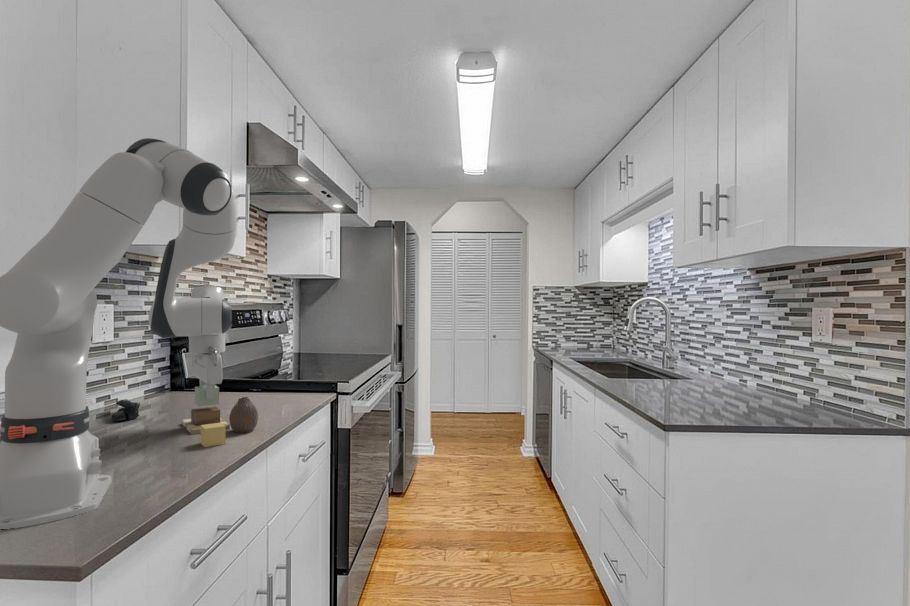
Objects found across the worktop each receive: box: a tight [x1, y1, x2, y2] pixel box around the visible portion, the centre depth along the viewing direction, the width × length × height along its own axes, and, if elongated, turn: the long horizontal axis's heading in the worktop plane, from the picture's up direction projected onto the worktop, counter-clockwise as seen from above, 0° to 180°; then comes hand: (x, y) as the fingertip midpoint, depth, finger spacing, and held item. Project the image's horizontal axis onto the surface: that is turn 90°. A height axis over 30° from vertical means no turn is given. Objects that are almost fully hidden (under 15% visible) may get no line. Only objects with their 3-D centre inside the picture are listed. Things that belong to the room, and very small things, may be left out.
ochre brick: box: [200, 423, 227, 448], centre depth 118 cm, size 4×4×4 cm
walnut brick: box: [190, 405, 221, 426], centre depth 134 cm, size 6×6×4 cm
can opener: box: [111, 398, 141, 422], centre depth 146 cm, size 18×7×6 cm, turn 39°
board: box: [181, 417, 231, 435], centre depth 134 cm, size 14×9×1 cm, turn 37°
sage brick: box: [194, 384, 220, 407], centre depth 134 cm, size 5×5×4 cm
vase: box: [228, 396, 259, 434], centre depth 130 cm, size 7×7×9 cm
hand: (207, 396), depth 134 cm, fingers closed on sage brick, 5 cm apart
